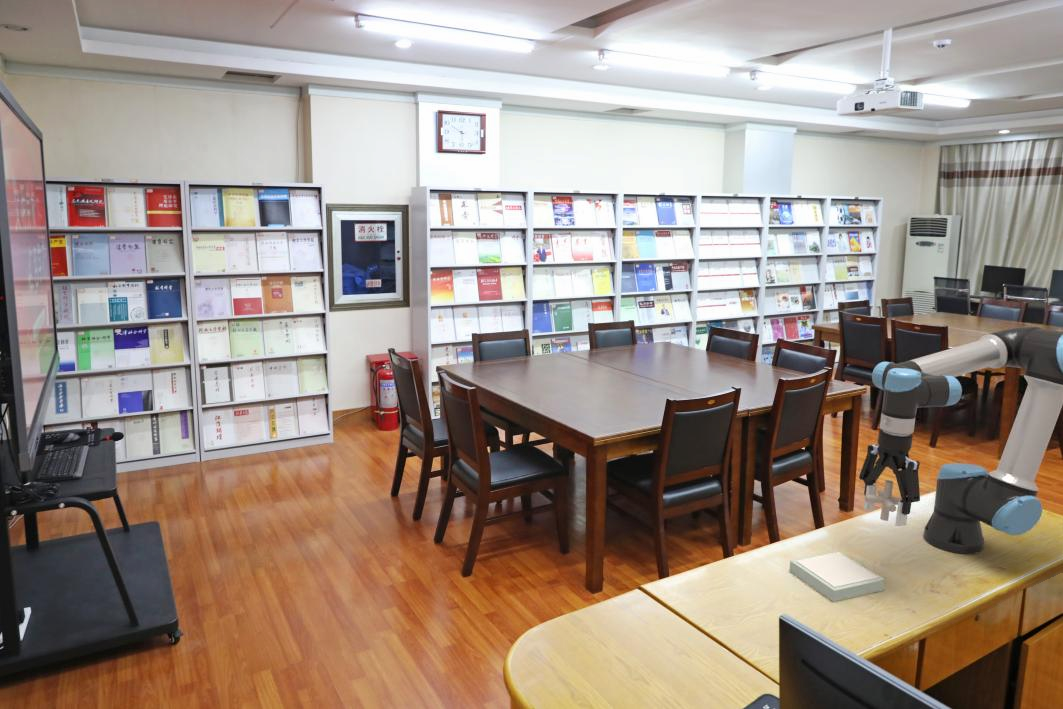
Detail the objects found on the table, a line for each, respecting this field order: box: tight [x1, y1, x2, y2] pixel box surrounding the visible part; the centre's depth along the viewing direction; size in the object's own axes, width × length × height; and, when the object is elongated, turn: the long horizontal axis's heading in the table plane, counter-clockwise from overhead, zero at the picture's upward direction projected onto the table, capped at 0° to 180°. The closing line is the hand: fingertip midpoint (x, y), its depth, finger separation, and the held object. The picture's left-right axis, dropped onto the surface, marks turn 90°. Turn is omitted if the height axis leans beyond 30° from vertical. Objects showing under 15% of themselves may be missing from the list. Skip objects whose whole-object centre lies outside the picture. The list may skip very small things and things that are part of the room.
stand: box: [788, 550, 886, 603], centre depth 191 cm, size 16×16×3 cm
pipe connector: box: [864, 479, 902, 522], centre depth 186 cm, size 10×10×10 cm
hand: (884, 517), depth 187 cm, fingers closed on pipe connector, 9 cm apart
